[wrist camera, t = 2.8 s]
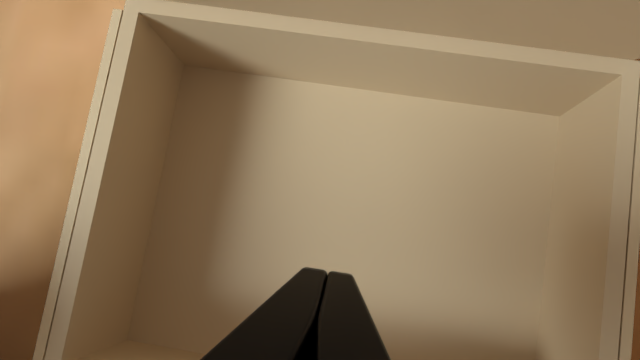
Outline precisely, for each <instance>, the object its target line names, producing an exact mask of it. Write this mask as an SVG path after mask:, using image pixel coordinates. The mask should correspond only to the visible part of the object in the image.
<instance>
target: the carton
mask: <svg viewBox="0 0 640 360" xmlns="http://www.w3.org/2000/svg"><path fill="white" fill-rule="evenodd" d="M639 245H640V61H636V60H628V59H620V58H613V57H605V56H597V55H589V54H581V53H573V52H565V51H558V50H550V49H542V48H534V47H526V46H518V45H510V44H503V43H495V42H487V41H479V40H471V39H463V38H456V37H448V36H440V35H432V34H424V33H416V32H408V31H401V30H393V29H385V28H377V27H369V26H361V25H353V24H346V23H338V22H330V21H322V20H314V19H306V18H299V17H291V16H283V15H275V14H267V13H259V12H251V11H244V10H236V9H228V8H220V7H212V6H204V5H196V4H189V3H181V2H173V1H165V0H126V2H125V6H124V11H123V10H119V9H113V12H112V16H111V21H110V25H109V29H108V34H107V38H106V42H105V47H104V51H103V55H102V60H101V64H100V68H99V73H98V77H97V81H96V86H95V90H94V94H93V99H92V103H91V107H90V112H89V116H88V121H87V125H86V129H85V134H84V138H83V142H82V147H81V151H80V155H79V160H78V164H77V168H76V173H75V177H74V181H73V186H72V190H71V194H70V199H69V203H68V207H67V212H66V216H65V220H64V225H63V229H62V233H61V238H60V242H59V246H58V251H57V255H56V259H55V264H54V268H53V272H52V277H51V281H50V286H49V290H48V294H47V299H46V303H45V307H44V312H43V316H42V320H41V325H40V329H39V333H38V338H37V342H36V346H35V351H34V355H33V359H32V360H200V359H201V358H202V357H203V356H204V355H206V354H207V353H208V352H209V351H210V350H211V349H212V348H213V347H215V346H216V345H217V344H218V343H219V342H220V341H221V340H222V339H224V338H225V337H226V336H227V335H228V334H229V333H230V332H231V331H232V330H234V329H235V328H236V327H237V326H238V325H239V324H240V323H241V322H243V321H244V320H245V319H246V318H247V317H248V316H249V315H250V314H252V313H253V312H254V311H255V310H256V309H257V308H258V307H259V306H261V305H262V304H263V303H264V302H265V301H266V300H267V299H268V298H269V297H271V296H272V295H273V294H274V293H275V292H276V291H277V290H278V289H280V288H281V287H282V286H283V285H284V284H285V283H286V282H287V281H289V280H290V279H291V278H292V277H293V276H294V275H295V274H296V273H298V272H299V271H300V270H301V269H302V268H304V267H310V268H317V269H323V270H325V271H326V272H327V275H328V273H329V272H330V271H336V272H343V273H349V274H352V275H353V277H354V279H355V281H356V283H357V285H358V288H359V290H360V292H361V294H362V296H363V299H364V301H365V303H366V305H367V308H368V310H369V312H370V314H371V316H372V319H373V321H374V323H375V325H376V327H377V330H378V332H379V334H380V336H381V339H382V341H383V343H384V345H385V347H386V350H387V352H388V354H389V356H390V358H391V360H631V352H632V339H633V325H634V312H635V298H636V285H637V271H638V258H639Z"/></svg>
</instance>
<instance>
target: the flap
mask: <svg viewBox="0 0 640 360" xmlns="http://www.w3.org/2000/svg"><path fill="white" fill-rule="evenodd" d="M165 1H173V2H181V3H189V4H197V5H204V6H212V7H220V8H228V9H236V10H244V11H252V12H259V13H267V14H275V15H283V16H291V17H299V18H307V19H314V20H322V21H330V22H338V23H346V24H354V25H361V26H369V27H377V28H385V29H393V30H401V31H409V32H416V33H424V34H432V35H440V36H448V37H456V38H464V39H471V40H479V41H487V42H495V43H503V44H511V45H518V46H526V47H534V48H542V49H550V50H558V51H566V52H573V53H581V54H589V55H597V56H605V57H613V58H621V59H628V60H635V59H640V0H165Z"/></svg>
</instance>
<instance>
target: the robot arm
mask: <svg viewBox="0 0 640 360" xmlns="http://www.w3.org/2000/svg"><path fill="white" fill-rule="evenodd" d="M200 360H391V358H390V356H389V354H388V352H387V350H386V347H385V345H384V343H383V341H382V339H381V336H380V334H379V332H378V330H377V327H376V325H375V323H374V321H373V319H372V316H371V314H370V312H369V310H368V308H367V305H366V303H365V301H364V299H363V296H362V294H361V292H360V290H359V288H358V285H357V283H356V281H355V279H354V277H353V275H352V274H349V273H343V272H336V271H330V272H329V273H328V275H327V272H326V271H325V270H323V269H317V268H310V267H304V268H302V269H301V270H300V271H299V272H298V273H296V274H295V275H294V276H293V277H292V278H291V279H290V280H289V281H287V282H286V283H285V284H284V285H283V286H282V287H281V288H280V289H278V290H277V291H276V292H275V293H274V294H273V295H272V296H271V297H269V298H268V299H267V300H266V301H265V302H264V303H263V304H262V305H261V306H259V307H258V308H257V309H256V310H255V311H254V312H253V313H252V314H250V315H249V316H248V317H247V318H246V319H245V320H244V321H243V322H241V323H240V324H239V325H238V326H237V327H236V328H235V329H234V330H232V331H231V332H230V333H229V334H228V335H227V336H226V337H225V338H224V339H222V340H221V341H220V342H219V343H218V344H217V345H216V346H215V347H213V348H212V349H211V350H210V351H209V352H208V353H207V354H206V355H204V356H203V357H202V358H201V359H200Z"/></svg>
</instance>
